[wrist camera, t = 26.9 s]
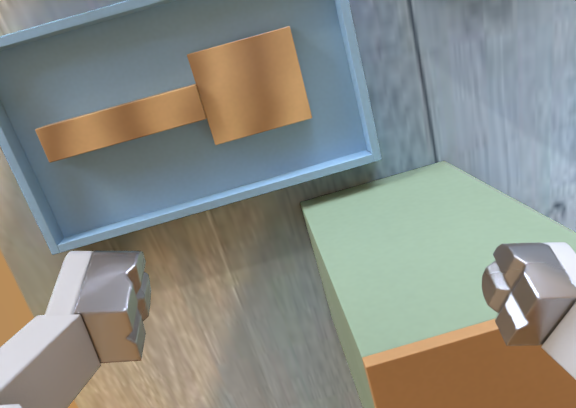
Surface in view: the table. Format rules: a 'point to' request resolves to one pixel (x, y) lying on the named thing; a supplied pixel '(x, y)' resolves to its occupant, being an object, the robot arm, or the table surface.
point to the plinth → (430, 291)
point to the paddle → (201, 100)
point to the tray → (181, 140)
